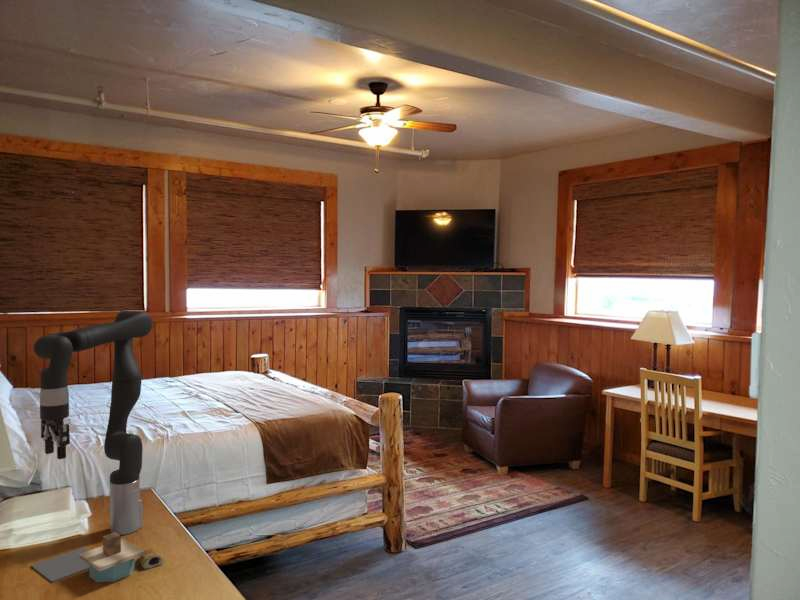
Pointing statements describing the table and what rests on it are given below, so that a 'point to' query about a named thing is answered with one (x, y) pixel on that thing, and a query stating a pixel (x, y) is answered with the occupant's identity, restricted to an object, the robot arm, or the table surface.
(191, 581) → the table surface
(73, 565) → the mat
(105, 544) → the lid
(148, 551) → the pastry
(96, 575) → the bowl
